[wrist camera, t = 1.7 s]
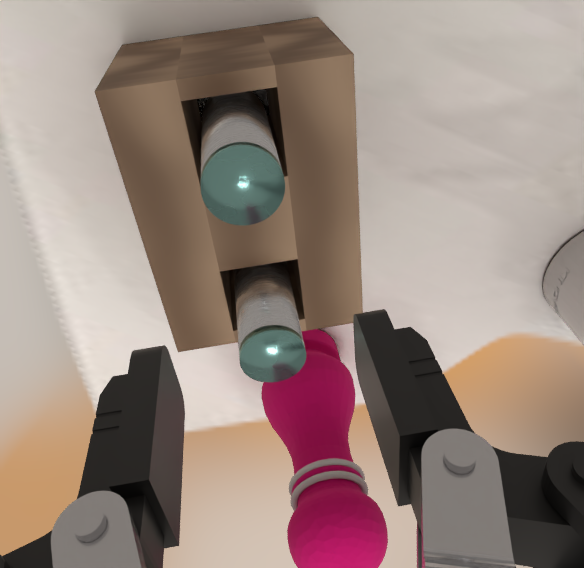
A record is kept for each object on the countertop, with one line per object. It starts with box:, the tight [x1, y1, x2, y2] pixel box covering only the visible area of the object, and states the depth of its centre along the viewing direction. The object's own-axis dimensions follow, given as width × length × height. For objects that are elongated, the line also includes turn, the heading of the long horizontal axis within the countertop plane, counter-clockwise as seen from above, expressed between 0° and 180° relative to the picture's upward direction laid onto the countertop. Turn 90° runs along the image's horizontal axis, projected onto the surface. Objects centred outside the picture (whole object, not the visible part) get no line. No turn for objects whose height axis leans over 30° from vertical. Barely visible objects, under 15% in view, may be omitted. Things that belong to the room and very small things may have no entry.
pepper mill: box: [262, 329, 388, 568], centre depth 37 cm, size 7×7×20 cm
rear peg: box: [233, 261, 306, 382], centre depth 29 cm, size 3×3×8 cm
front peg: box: [201, 91, 285, 226], centre depth 23 cm, size 3×3×8 cm
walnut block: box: [95, 17, 363, 352], centre depth 30 cm, size 11×15×9 cm
